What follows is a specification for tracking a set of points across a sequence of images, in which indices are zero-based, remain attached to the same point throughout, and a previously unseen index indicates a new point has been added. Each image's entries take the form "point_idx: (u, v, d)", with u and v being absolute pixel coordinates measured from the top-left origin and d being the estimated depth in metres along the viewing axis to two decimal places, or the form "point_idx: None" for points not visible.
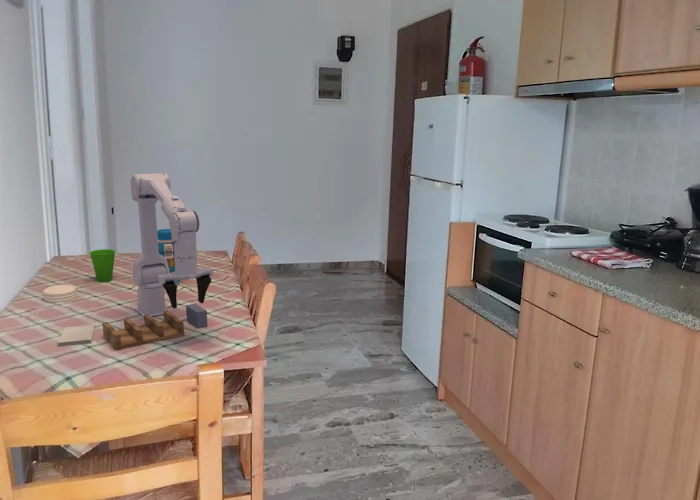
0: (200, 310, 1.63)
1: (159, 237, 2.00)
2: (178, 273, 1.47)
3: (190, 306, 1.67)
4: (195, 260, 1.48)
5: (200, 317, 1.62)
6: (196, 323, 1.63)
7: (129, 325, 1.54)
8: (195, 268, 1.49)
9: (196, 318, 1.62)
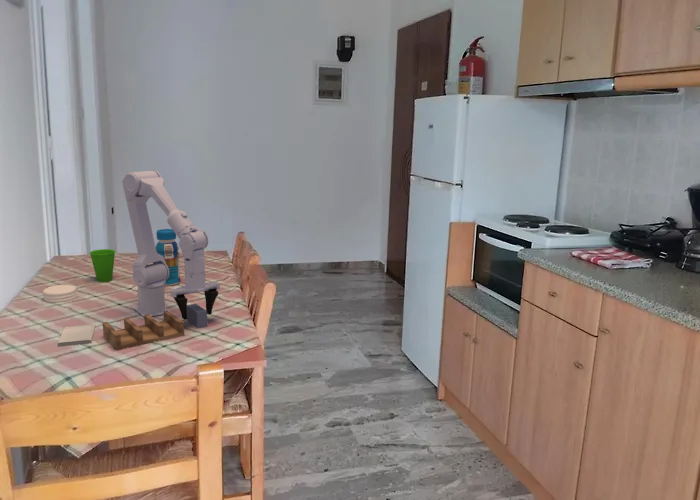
0: (200, 310, 1.63)
1: (159, 237, 2.00)
2: (188, 287, 1.61)
3: (190, 306, 1.67)
4: (203, 275, 1.63)
5: (200, 317, 1.62)
6: (196, 323, 1.63)
7: (129, 325, 1.54)
8: (203, 283, 1.63)
9: (196, 318, 1.62)
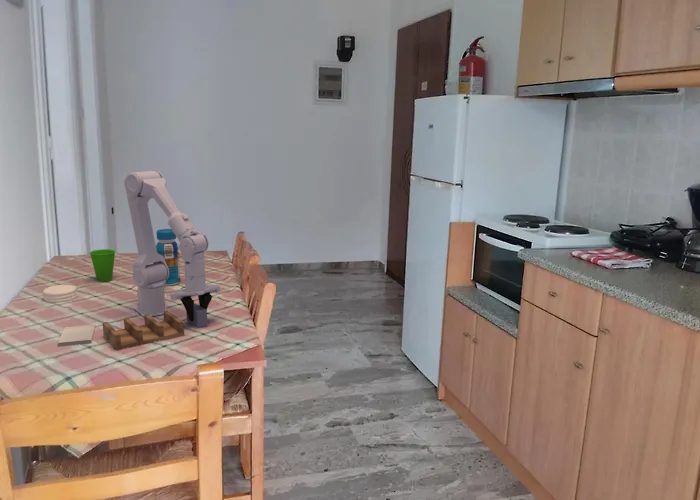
0: (200, 310, 1.63)
1: (159, 237, 2.00)
2: (188, 290, 1.62)
3: None
4: (203, 278, 1.63)
5: (200, 316, 1.62)
6: (196, 323, 1.63)
7: (129, 325, 1.54)
8: (203, 286, 1.63)
9: (196, 318, 1.62)
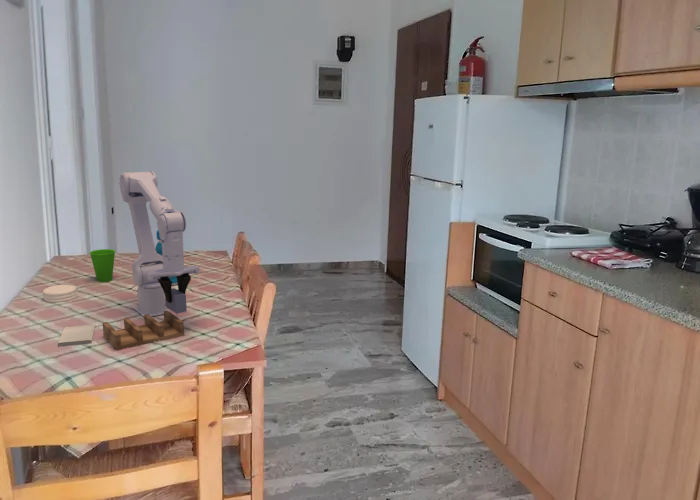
0: (179, 294, 1.58)
1: (159, 237, 2.00)
2: (166, 270, 1.56)
3: None
4: (182, 258, 1.57)
5: (178, 301, 1.57)
6: (175, 308, 1.57)
7: (129, 325, 1.54)
8: (182, 266, 1.57)
9: (174, 303, 1.57)
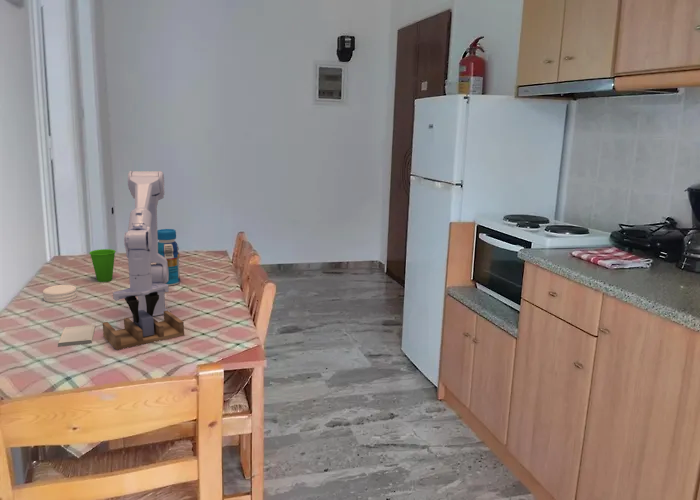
0: (146, 317, 1.52)
1: (159, 237, 2.00)
2: (132, 290, 1.50)
3: None
4: (149, 277, 1.52)
5: (145, 324, 1.52)
6: None
7: (129, 325, 1.54)
8: (149, 285, 1.52)
9: (141, 326, 1.52)
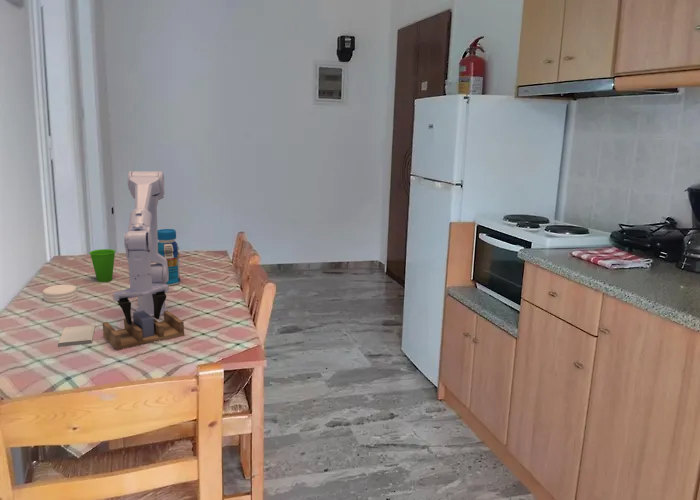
0: (146, 318, 1.53)
1: (159, 237, 2.00)
2: (132, 290, 1.51)
3: (137, 313, 1.56)
4: (149, 277, 1.52)
5: (145, 325, 1.52)
6: None
7: (129, 325, 1.54)
8: (149, 285, 1.52)
9: (141, 327, 1.52)
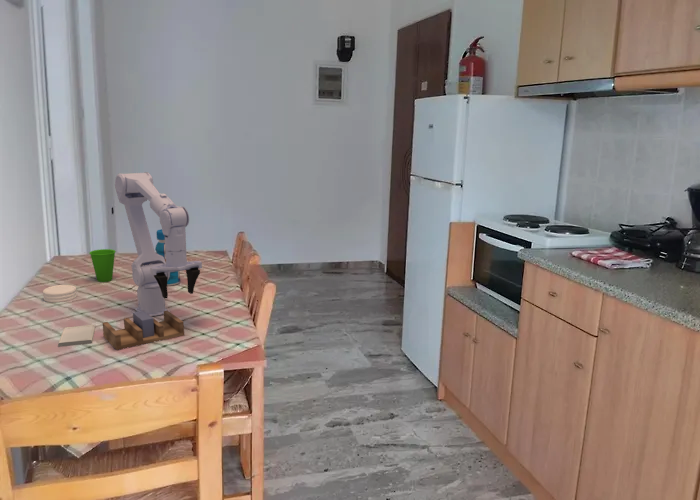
0: (146, 318, 1.53)
1: (159, 237, 2.00)
2: (168, 265, 1.58)
3: (137, 313, 1.56)
4: (184, 253, 1.59)
5: (145, 325, 1.52)
6: None
7: (129, 325, 1.54)
8: (184, 261, 1.59)
9: (141, 327, 1.52)
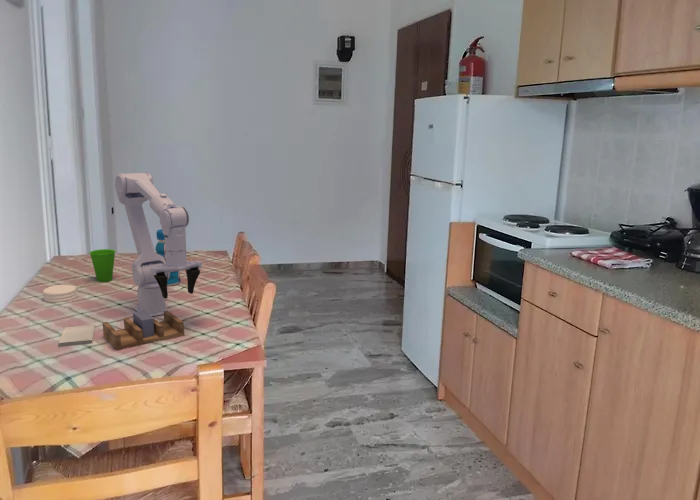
0: (146, 318, 1.53)
1: (159, 237, 2.00)
2: (168, 265, 1.58)
3: (137, 313, 1.56)
4: (184, 253, 1.59)
5: (145, 325, 1.52)
6: None
7: (129, 325, 1.54)
8: (184, 261, 1.59)
9: (141, 327, 1.52)
